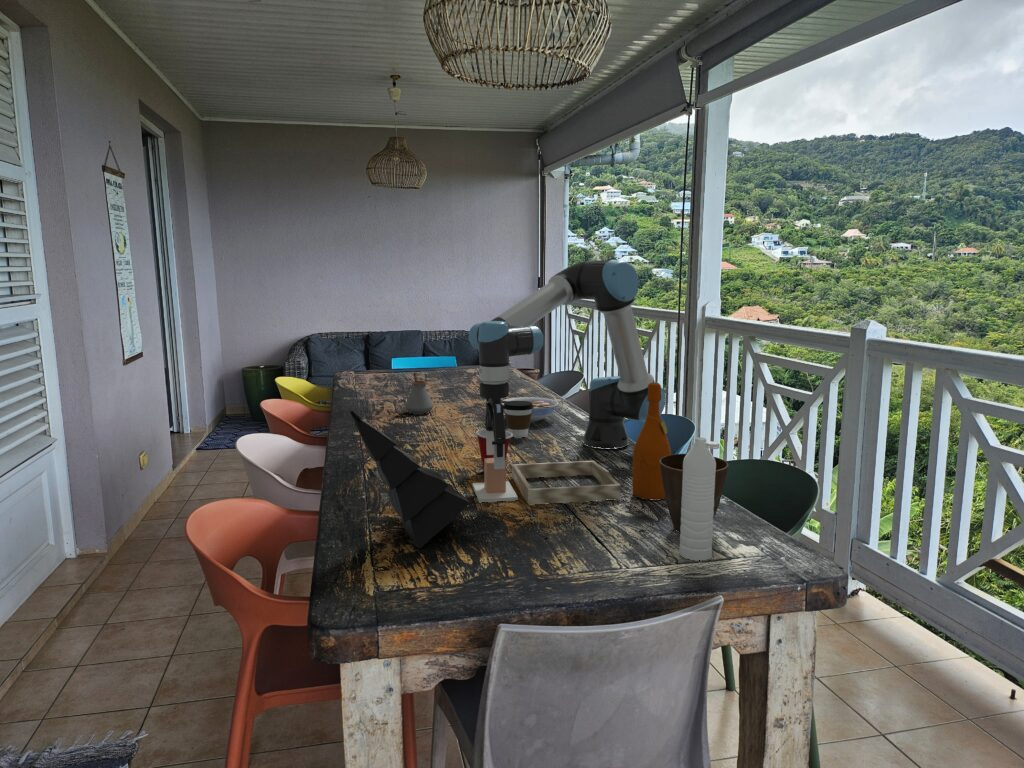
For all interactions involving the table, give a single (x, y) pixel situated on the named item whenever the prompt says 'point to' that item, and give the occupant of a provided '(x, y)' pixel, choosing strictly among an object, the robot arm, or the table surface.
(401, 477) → the decorative tree
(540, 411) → the ramen bowl
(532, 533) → the table surface
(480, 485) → the pad
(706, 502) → the water bottle
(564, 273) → the robot arm
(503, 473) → the block
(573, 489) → the frame
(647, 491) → the wine bottle
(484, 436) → the plastic cup
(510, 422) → the coffee cup
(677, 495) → the plant pot
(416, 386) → the coffee pot
